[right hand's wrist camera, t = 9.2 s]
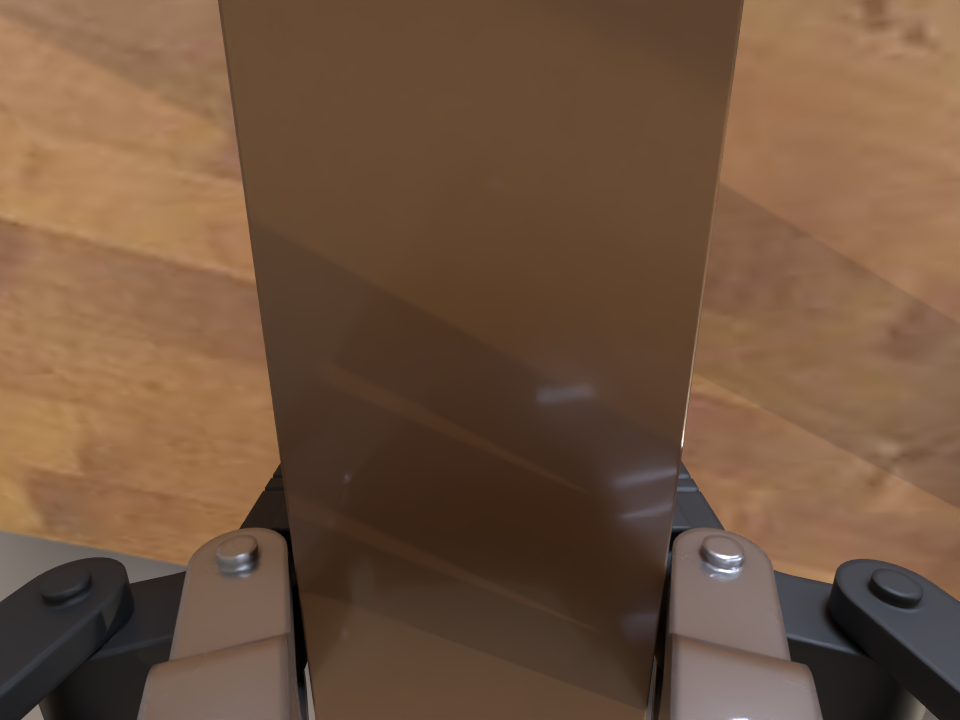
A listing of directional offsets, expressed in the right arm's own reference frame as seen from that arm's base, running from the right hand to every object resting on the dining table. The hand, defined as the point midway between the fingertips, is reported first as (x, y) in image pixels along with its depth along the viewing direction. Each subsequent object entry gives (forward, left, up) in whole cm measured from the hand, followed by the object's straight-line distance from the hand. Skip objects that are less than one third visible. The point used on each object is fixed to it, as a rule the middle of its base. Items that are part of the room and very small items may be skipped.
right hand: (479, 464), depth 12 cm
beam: (-3, -27, -2) cm, 27 cm away
